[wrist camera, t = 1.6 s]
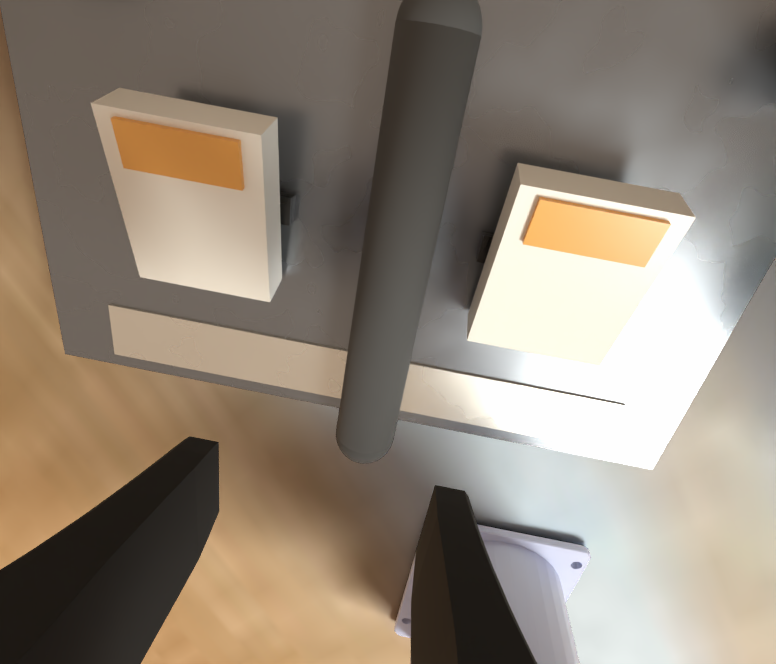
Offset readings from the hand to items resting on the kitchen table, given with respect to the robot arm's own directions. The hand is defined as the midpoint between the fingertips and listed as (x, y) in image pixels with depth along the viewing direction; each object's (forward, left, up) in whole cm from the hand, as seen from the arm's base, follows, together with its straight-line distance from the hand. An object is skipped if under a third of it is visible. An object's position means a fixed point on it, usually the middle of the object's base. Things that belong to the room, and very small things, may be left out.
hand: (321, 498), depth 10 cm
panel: (+4, 0, -9) cm, 10 cm away
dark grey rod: (+3, -1, -7) cm, 7 cm away
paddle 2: (+4, -5, -6) cm, 8 cm away
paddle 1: (+4, +5, -6) cm, 8 cm away
